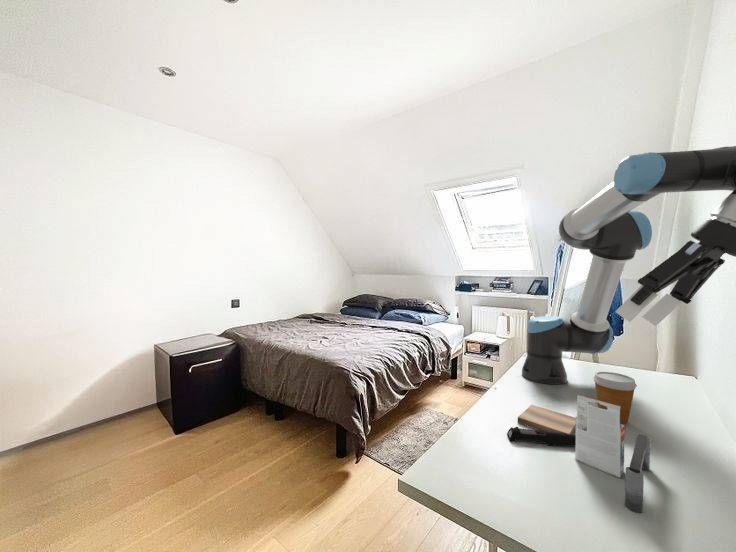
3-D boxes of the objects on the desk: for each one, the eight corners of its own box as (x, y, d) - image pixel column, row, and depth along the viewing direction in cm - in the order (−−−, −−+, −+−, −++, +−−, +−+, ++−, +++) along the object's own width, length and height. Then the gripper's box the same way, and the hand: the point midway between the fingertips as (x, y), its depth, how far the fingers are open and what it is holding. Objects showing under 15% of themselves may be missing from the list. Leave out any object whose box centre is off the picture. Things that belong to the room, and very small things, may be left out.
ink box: (580, 453, 70) (581, 390, 70) (624, 471, 64) (626, 401, 64) (574, 460, 68) (575, 394, 67) (620, 479, 62) (621, 406, 61)
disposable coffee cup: (644, 430, 81) (645, 384, 80) (603, 426, 83) (604, 381, 82) (622, 413, 90) (623, 372, 90) (585, 410, 92) (586, 370, 92)
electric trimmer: (582, 453, 71) (582, 439, 71) (509, 443, 75) (509, 430, 75) (575, 444, 75) (575, 431, 75) (506, 435, 79) (506, 422, 78)
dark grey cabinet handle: (635, 462, 67) (635, 430, 67) (650, 467, 65) (650, 434, 65) (623, 507, 54) (624, 468, 54) (642, 515, 53) (643, 475, 52)
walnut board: (531, 409, 92) (531, 404, 92) (579, 424, 84) (579, 418, 84) (517, 422, 84) (517, 417, 84) (568, 439, 76) (569, 433, 76)
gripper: (746, 220, 44) (629, 329, 53) (773, 252, 57) (676, 335, 66) (687, 198, 49) (591, 301, 59) (724, 232, 62) (641, 311, 72)
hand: (636, 319), depth 62 cm, fingers open, 13 cm apart
